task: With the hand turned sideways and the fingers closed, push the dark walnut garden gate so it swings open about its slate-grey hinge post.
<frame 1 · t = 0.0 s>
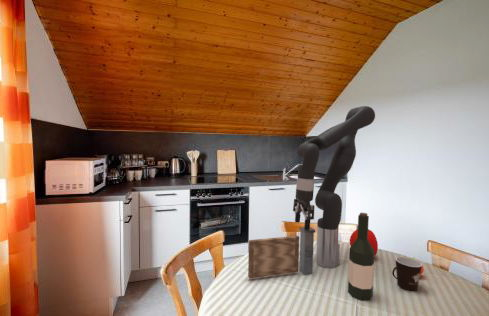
hand: (301, 225, 111), 19 cm above the table, tool pointing down, fingers open, 8 cm apart
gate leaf: (274, 256, 103), point 8 cm above the table, hinge at 0.0°
tomato: (363, 256, 124), on the table
coffee mug: (403, 286, 98), on the table
wine bottle: (360, 294, 92), on the table
gate post: (305, 272, 107), on the table
clementine: (412, 275, 107), on the table
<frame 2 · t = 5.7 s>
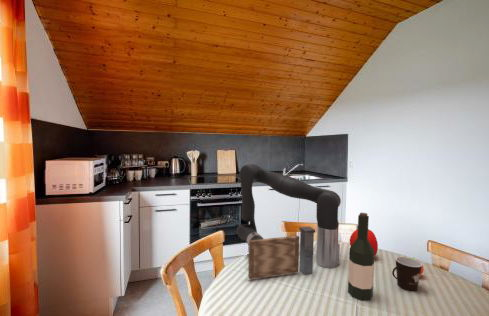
hand: (269, 258, 103), 8 cm above the table, tool horizontal, fingers closed
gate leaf: (274, 256, 103), point 8 cm above the table, hinge at 0.8°, touching gripper
everything else where it was.
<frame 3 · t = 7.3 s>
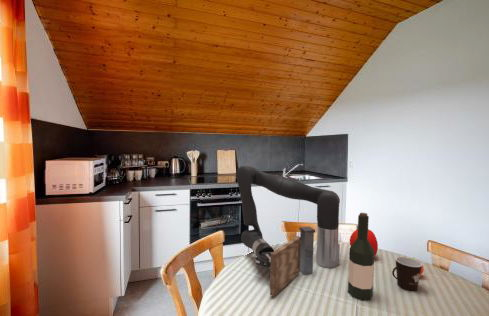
hand: (278, 269, 94), 8 cm above the table, tool horizontal, fingers closed
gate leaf: (286, 263, 97), point 9 cm above the table, hinge at 37.4°
everything else where it was.
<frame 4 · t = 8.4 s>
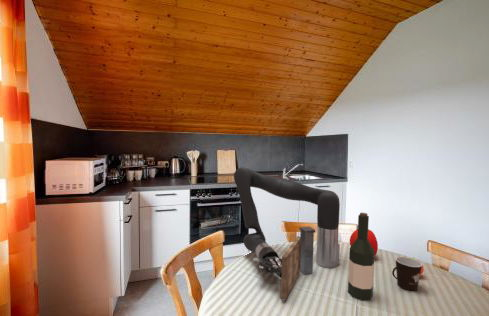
hand: (283, 275, 90), 8 cm above the table, tool horizontal, fingers closed
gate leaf: (291, 265, 96), point 9 cm above the table, hinge at 48.5°, touching gripper
everything else where it was.
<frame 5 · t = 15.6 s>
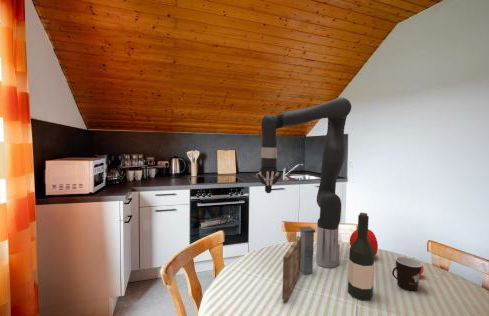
hand: (268, 192, 121), 31 cm above the table, tool pointing down, fingers closed
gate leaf: (292, 265, 96), point 8 cm above the table, hinge at 49.7°
everything else where it was.
at the end: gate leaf at +50° (first picture: +0°) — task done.
